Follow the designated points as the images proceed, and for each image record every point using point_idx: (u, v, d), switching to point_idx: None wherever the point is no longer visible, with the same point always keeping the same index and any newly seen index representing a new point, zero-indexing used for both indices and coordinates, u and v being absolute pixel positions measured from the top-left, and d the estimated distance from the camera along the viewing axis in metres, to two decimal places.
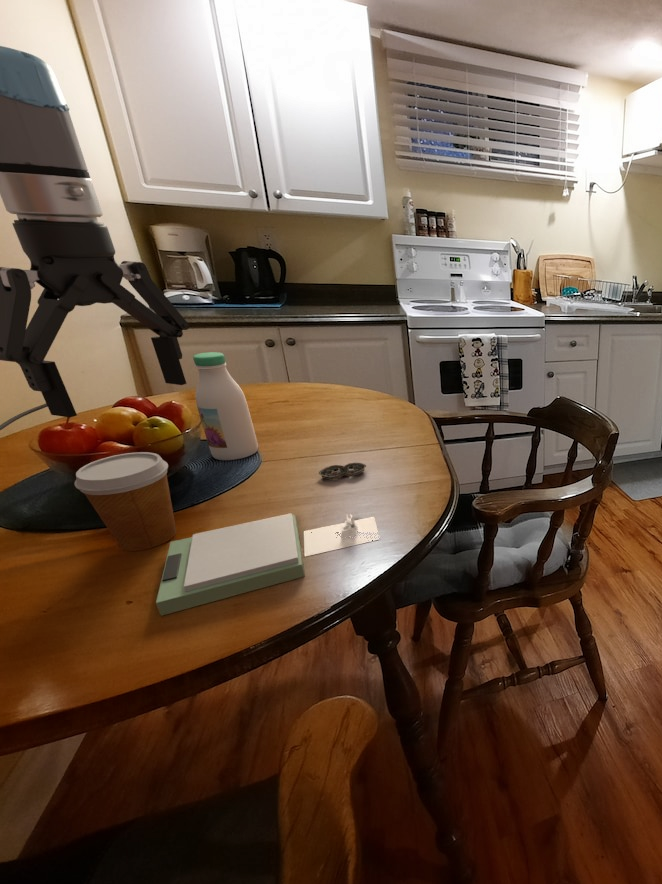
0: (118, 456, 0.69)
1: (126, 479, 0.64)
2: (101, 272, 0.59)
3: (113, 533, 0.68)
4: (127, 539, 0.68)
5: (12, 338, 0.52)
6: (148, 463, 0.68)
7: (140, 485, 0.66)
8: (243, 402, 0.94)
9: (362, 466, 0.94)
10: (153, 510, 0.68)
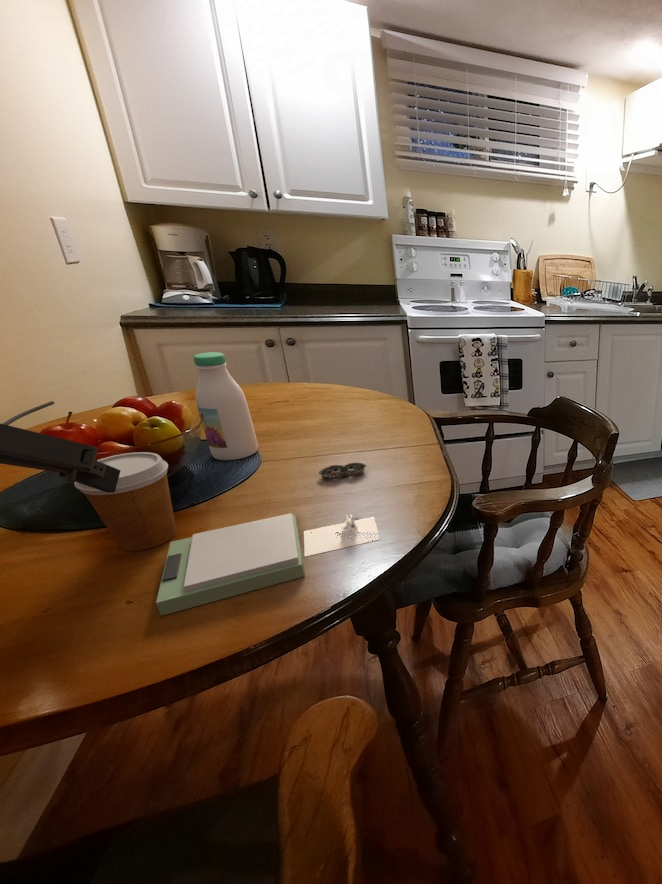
0: (118, 456, 0.69)
1: (126, 479, 0.64)
2: None
3: (113, 533, 0.68)
4: (127, 539, 0.68)
5: None
6: (148, 463, 0.68)
7: (140, 485, 0.66)
8: (244, 402, 0.94)
9: (362, 466, 0.94)
10: (153, 510, 0.68)
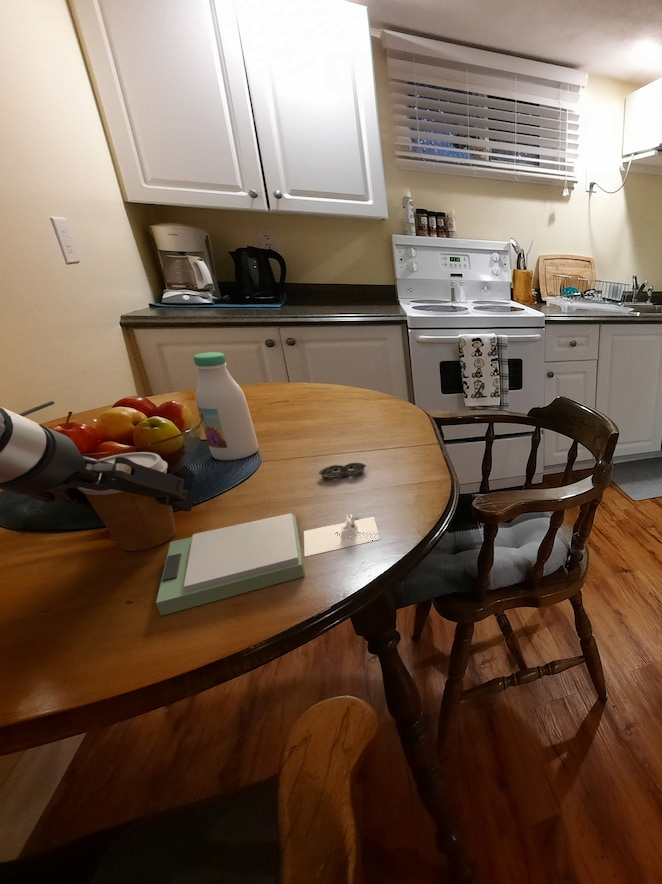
0: (117, 456, 0.69)
1: None
2: (68, 478, 0.57)
3: (113, 533, 0.67)
4: (127, 539, 0.68)
5: (34, 497, 0.62)
6: (147, 463, 0.68)
7: None
8: (244, 402, 0.94)
9: (362, 466, 0.94)
10: (153, 509, 0.68)
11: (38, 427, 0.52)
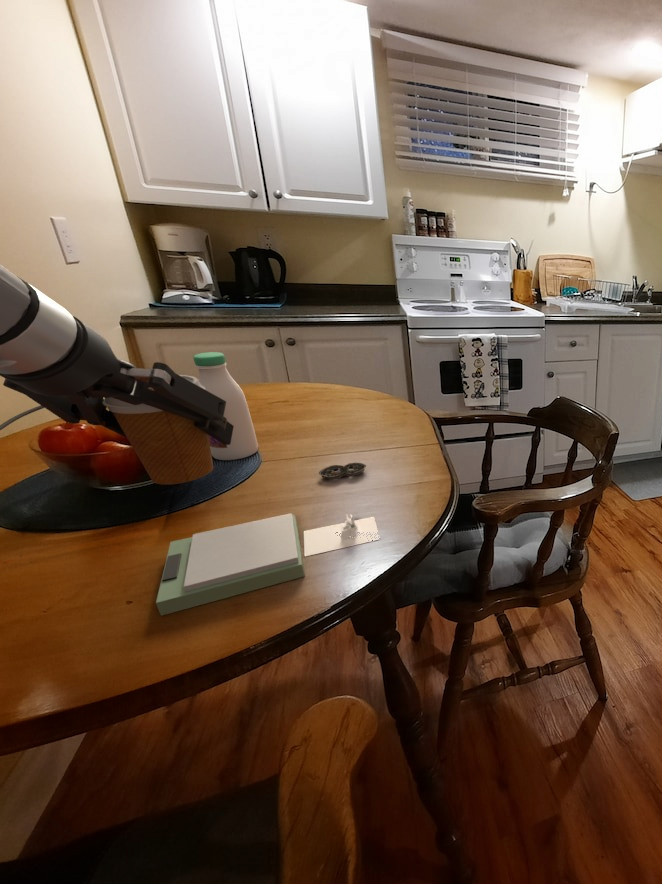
0: None
1: None
2: (99, 383, 0.49)
3: (145, 463, 0.59)
4: (161, 470, 0.60)
5: (58, 414, 0.54)
6: None
7: None
8: (244, 402, 0.94)
9: (362, 466, 0.94)
10: (190, 437, 0.60)
11: (67, 312, 0.44)
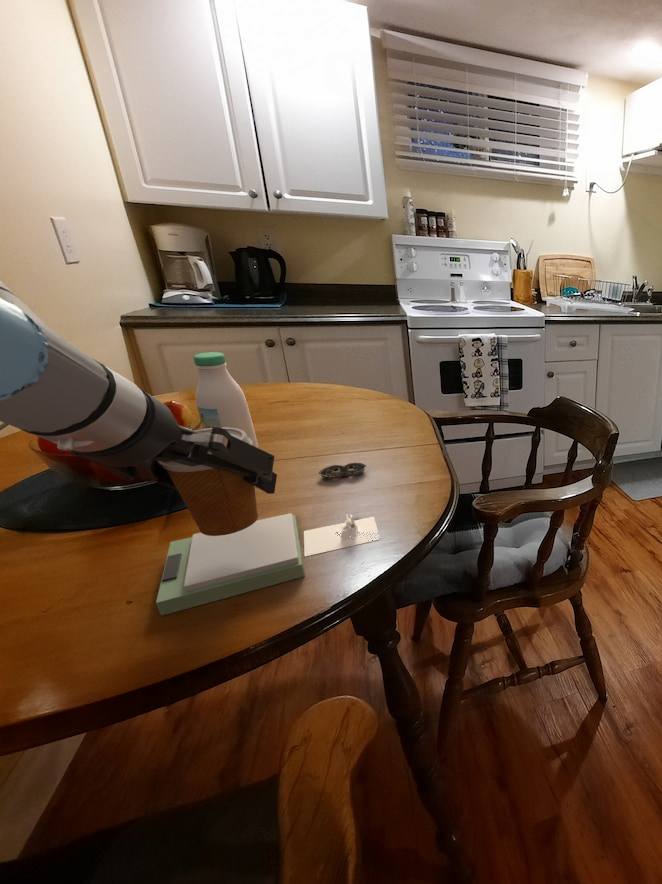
0: (198, 431, 0.63)
1: None
2: (161, 450, 0.51)
3: (195, 516, 0.61)
4: (210, 523, 0.61)
5: (115, 474, 0.56)
6: None
7: None
8: (244, 402, 0.94)
9: (362, 466, 0.94)
10: (239, 490, 0.62)
11: (137, 388, 0.46)
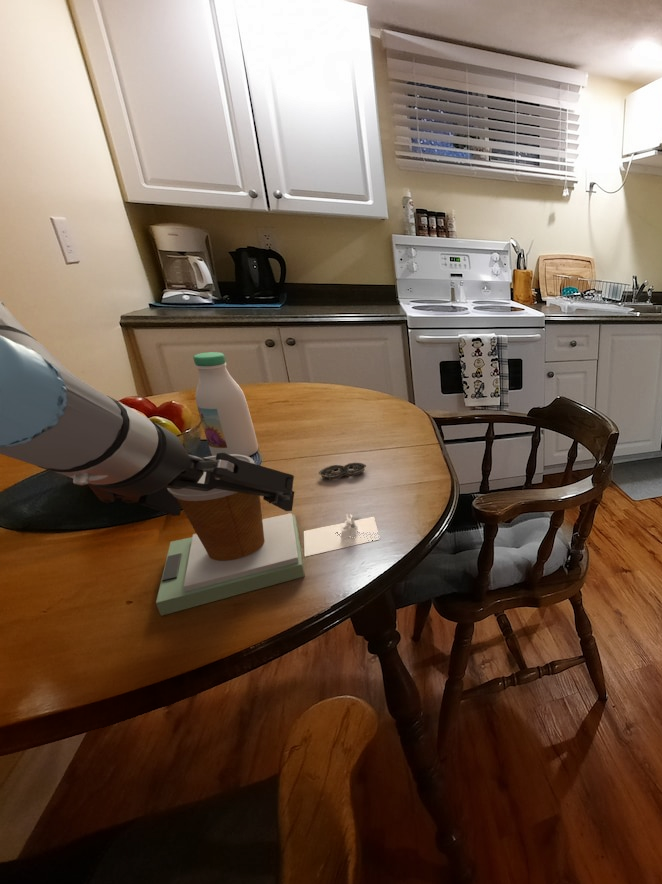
0: (207, 458, 0.64)
1: None
2: None
3: (204, 542, 0.62)
4: (219, 548, 0.63)
5: (100, 496, 0.56)
6: None
7: None
8: (244, 402, 0.94)
9: (362, 466, 0.94)
10: (247, 516, 0.63)
11: (149, 422, 0.47)
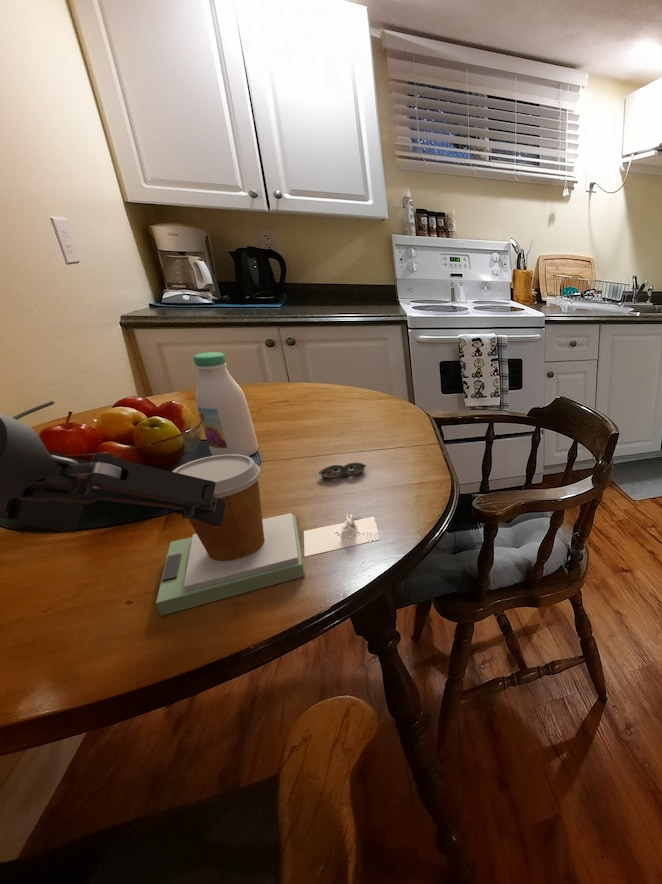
0: (207, 458, 0.64)
1: (224, 483, 0.59)
2: (29, 487, 0.38)
3: (204, 542, 0.62)
4: (219, 548, 0.63)
5: None
6: (241, 466, 0.63)
7: (236, 489, 0.61)
8: (244, 402, 0.94)
9: (362, 466, 0.94)
10: (247, 516, 0.63)
11: None
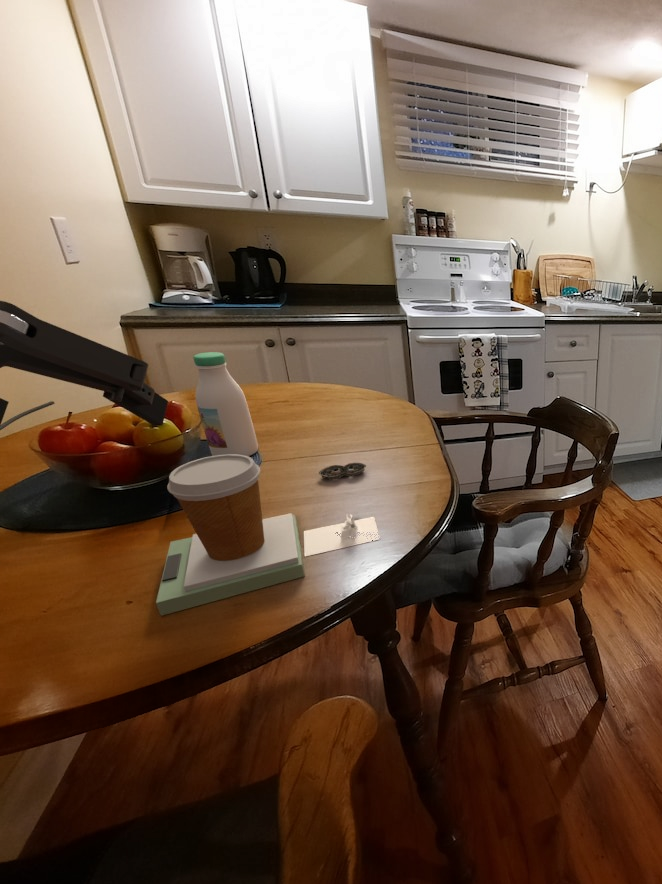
0: (207, 458, 0.64)
1: (224, 483, 0.59)
2: None
3: (204, 542, 0.62)
4: (219, 548, 0.63)
5: None
6: (241, 466, 0.63)
7: (236, 489, 0.61)
8: (244, 402, 0.94)
9: (362, 466, 0.94)
10: (247, 516, 0.63)
11: None
